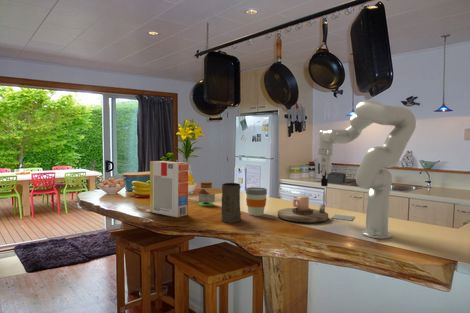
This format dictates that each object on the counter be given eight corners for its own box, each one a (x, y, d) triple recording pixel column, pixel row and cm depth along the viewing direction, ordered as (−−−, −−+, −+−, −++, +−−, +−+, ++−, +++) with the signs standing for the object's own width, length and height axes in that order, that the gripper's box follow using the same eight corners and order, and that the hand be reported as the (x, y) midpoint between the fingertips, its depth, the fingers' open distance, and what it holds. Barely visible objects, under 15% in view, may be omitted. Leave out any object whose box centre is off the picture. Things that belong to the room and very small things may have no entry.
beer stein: (238, 223, 173) (239, 185, 172) (218, 222, 175) (219, 184, 174) (244, 217, 188) (244, 182, 187) (225, 216, 190) (225, 181, 190)
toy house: (193, 203, 228) (193, 181, 227) (211, 202, 233) (211, 181, 232) (199, 206, 217) (199, 183, 216) (217, 205, 222) (217, 183, 222)
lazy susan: (321, 224, 170) (322, 212, 170) (270, 218, 183) (270, 206, 183) (332, 214, 195) (333, 203, 195) (286, 209, 208) (287, 199, 208)
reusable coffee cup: (255, 217, 189) (255, 190, 189) (240, 213, 199) (241, 188, 198) (270, 214, 197) (271, 189, 197) (256, 210, 207) (256, 186, 206)
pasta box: (187, 214, 192) (188, 162, 191) (177, 217, 186) (178, 163, 184) (159, 209, 205) (160, 160, 204) (149, 211, 199) (150, 161, 197)
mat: (351, 221, 184) (351, 220, 184) (331, 218, 189) (331, 217, 189) (354, 217, 194) (354, 216, 194) (335, 215, 199) (335, 214, 199)
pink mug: (305, 211, 193) (305, 196, 193) (310, 213, 187) (310, 197, 186) (291, 211, 191) (291, 196, 191) (295, 214, 185) (295, 198, 184)
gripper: (330, 153, 175) (329, 188, 176) (333, 152, 189) (332, 184, 190) (316, 152, 178) (315, 187, 179) (320, 152, 192) (319, 184, 192)
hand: (324, 185), depth 184 cm, fingers closed
